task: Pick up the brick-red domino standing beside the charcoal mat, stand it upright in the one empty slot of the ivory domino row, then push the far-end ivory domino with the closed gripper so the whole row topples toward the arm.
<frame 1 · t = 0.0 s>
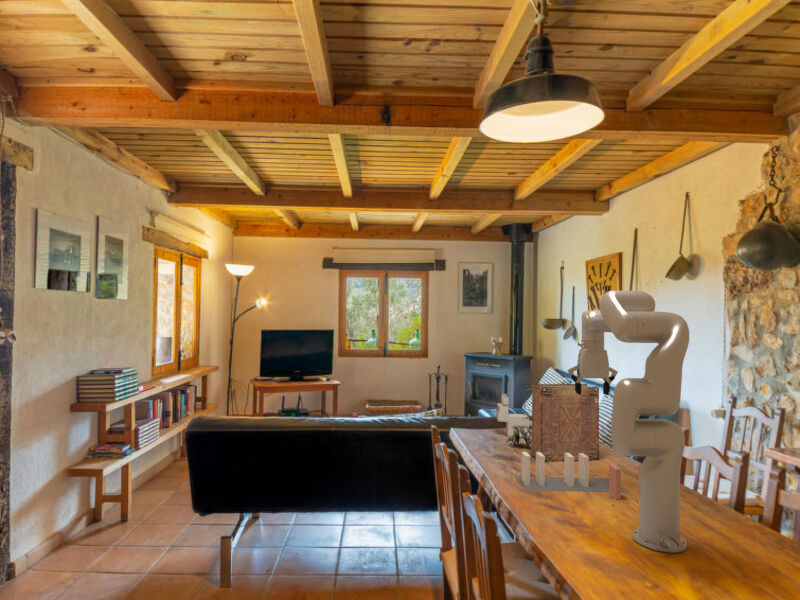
hand: (592, 394, 175), 31 cm above the table, tool pointing down, fingers open, 9 cm apart
domino 5: (583, 484, 171), point 1 cm above the table, touching domino mat
book: (564, 458, 204), on the table
domino 4: (568, 484, 171), point 1 cm above the table, touching domino mat
domino 2: (540, 483, 171), point 1 cm above the table, touching domino mat
domino mat: (568, 485, 171), on the table
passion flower: (519, 447, 220), on the table
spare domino: (614, 498, 160), on the table
toy llama: (514, 436, 241), on the table
domino 1: (525, 483, 171), point 1 cm above the table, touching domino mat
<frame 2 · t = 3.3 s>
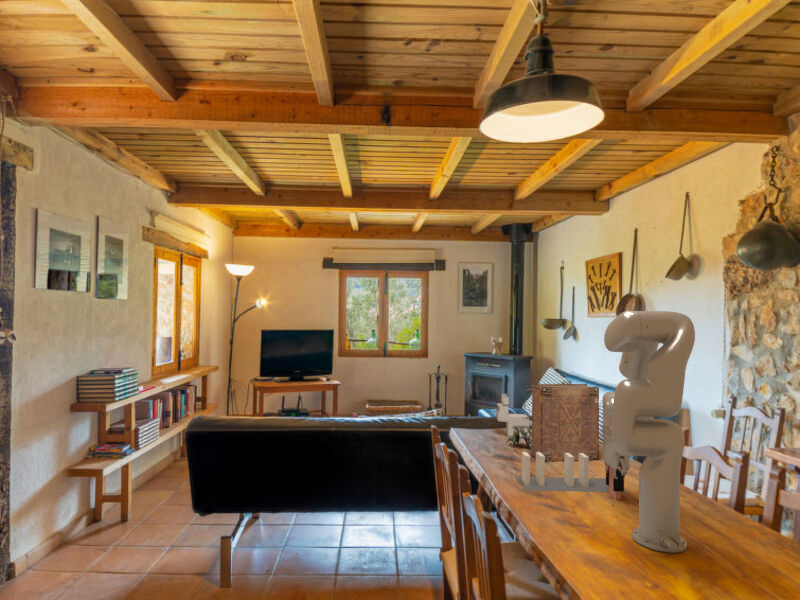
hand: (614, 487, 160), 3 cm above the table, tool pointing down, fingers closed on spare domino, 4 cm apart
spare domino: (614, 498, 160), on the table, touching gripper
everything else where it was.
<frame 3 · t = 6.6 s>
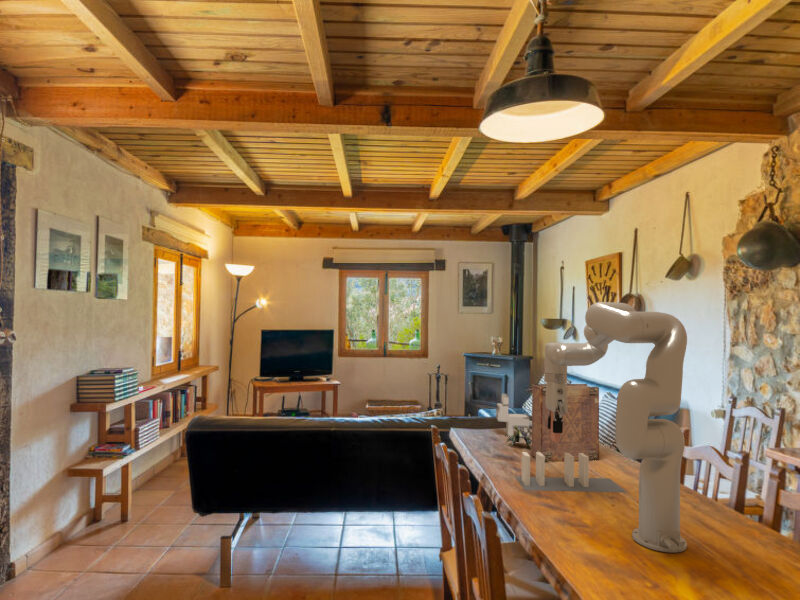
hand: (554, 430, 171), 19 cm above the table, tool pointing down, fingers closed on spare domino, 4 cm apart
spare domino: (555, 440, 171), point 15 cm above the table, touching gripper
everything else where it was.
when the fingers open (5 cm above the table, at t = 10.1 s): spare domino stays where it is, resting on domino mat.
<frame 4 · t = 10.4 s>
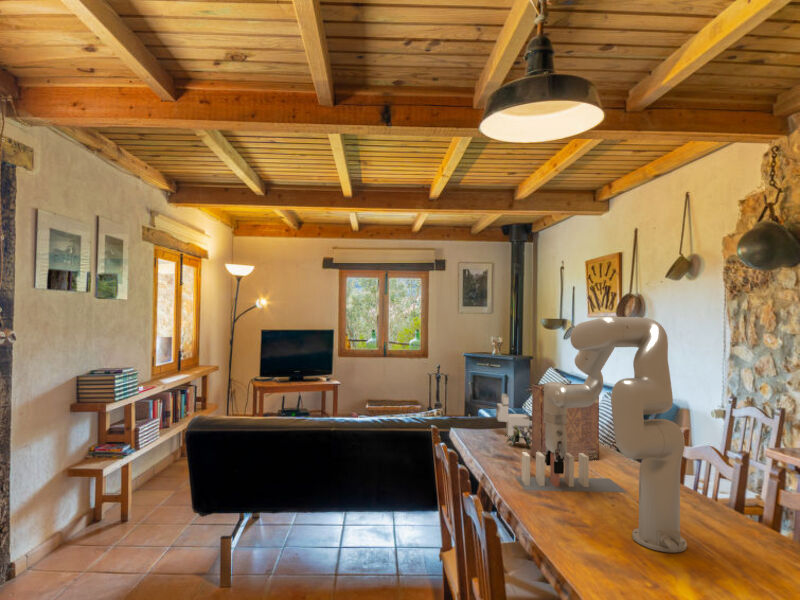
hand: (554, 469, 171), 6 cm above the table, tool pointing down, fingers open, 8 cm apart
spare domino: (554, 483, 170), point 1 cm above the table, touching domino mat
everything else where it was.
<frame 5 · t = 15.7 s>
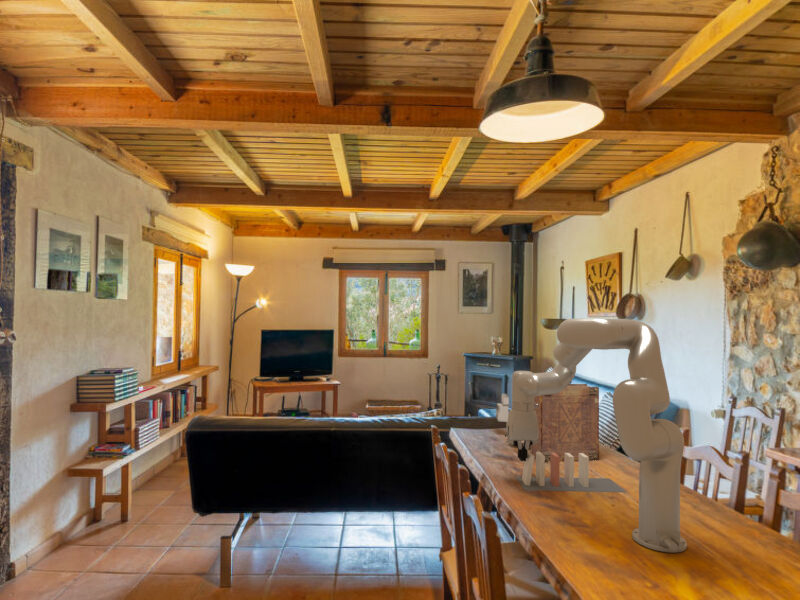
hand: (522, 460, 171), 8 cm above the table, tool pointing down, fingers closed
domino 1: (525, 482, 171), point 1 cm above the table, tilted 9°, touching domino mat, gripper
everything else where it was.
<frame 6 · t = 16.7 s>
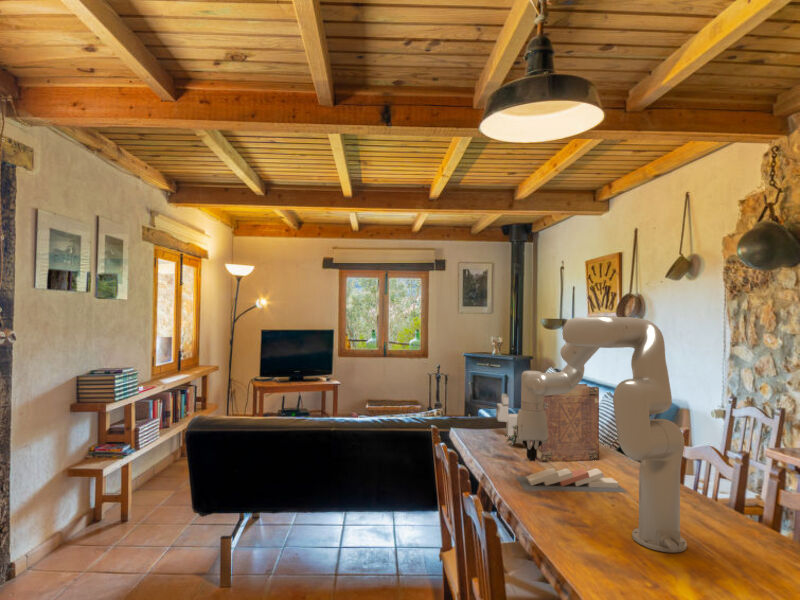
hand: (531, 459, 171), 9 cm above the table, tool pointing down, fingers closed
domino 5: (586, 482, 171), point 1 cm above the table, tilted 90°, touching domino 4, domino mat
domino 4: (573, 481, 171), point 1 cm above the table, tilted 70°, touching domino 5, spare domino
domino 2: (542, 481, 171), point 1 cm above the table, tilted 72°, touching domino 1, domino mat, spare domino
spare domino: (558, 481, 170), point 1 cm above the table, tilted 70°, touching domino 2, domino 4, domino mat
domino 1: (528, 480, 170), point 1 cm above the table, tilted 72°, touching domino 2
everything else where it was.
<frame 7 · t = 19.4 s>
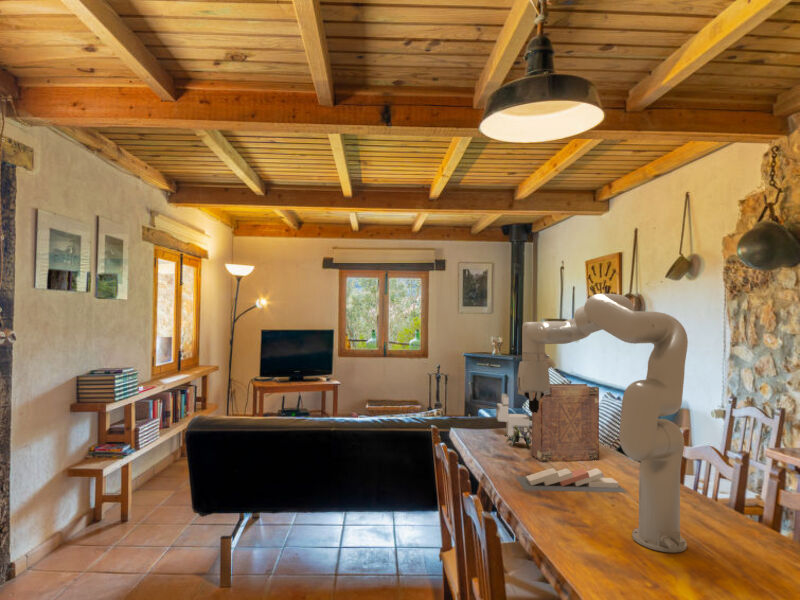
hand: (533, 411, 168), 26 cm above the table, tool pointing down, fingers closed
nothing on the table moved.
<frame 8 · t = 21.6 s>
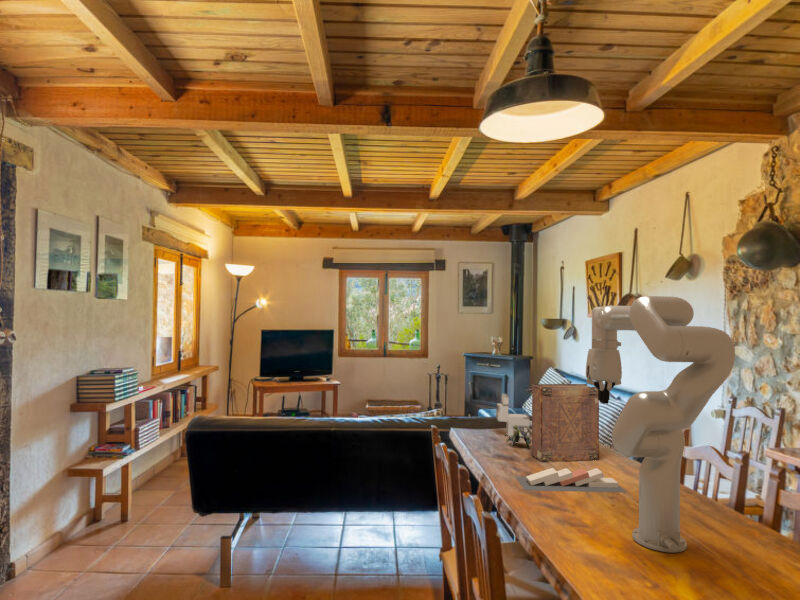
hand: (603, 402, 158), 31 cm above the table, tool pointing down, fingers closed
nothing on the table moved.
at the end: domino 5 tilted 90°; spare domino tilted 70°; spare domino inside the target area (0.4 cm from its centre), point 1.4 cm above the table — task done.
